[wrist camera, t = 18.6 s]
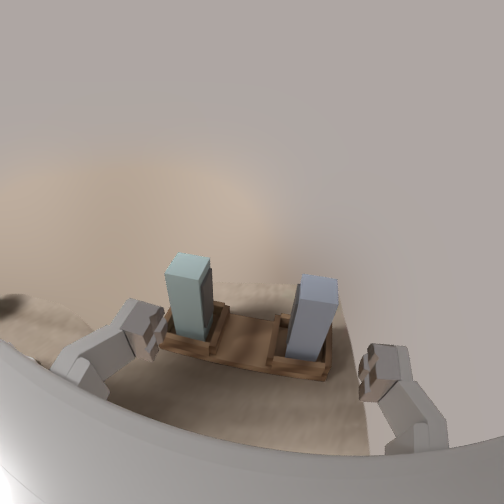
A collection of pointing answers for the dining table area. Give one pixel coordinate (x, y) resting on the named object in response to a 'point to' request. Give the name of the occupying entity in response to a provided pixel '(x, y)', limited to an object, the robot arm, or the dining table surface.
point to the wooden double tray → (249, 345)
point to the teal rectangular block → (191, 295)
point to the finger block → (311, 316)
